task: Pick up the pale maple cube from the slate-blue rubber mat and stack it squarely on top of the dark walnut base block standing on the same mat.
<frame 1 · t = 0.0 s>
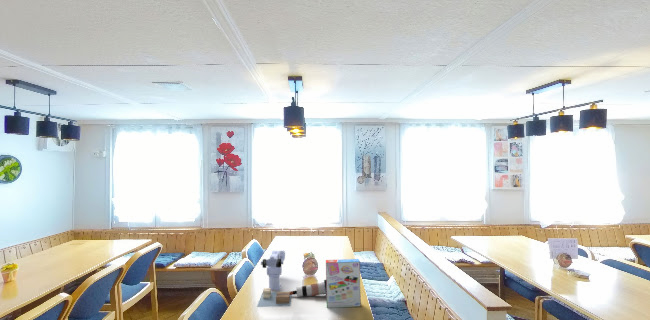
hand: (270, 265, 207), 22 cm above the table, tool horizontal, fingers open, 7 cm apart
walnut base: (283, 300, 204), point 1 cm above the table, touching mat
cable: (315, 296, 212), on the table, touching mat
maple cube: (267, 296, 211), point 1 cm above the table, touching mat
mat: (275, 299, 207), on the table
game box: (343, 305, 198), on the table
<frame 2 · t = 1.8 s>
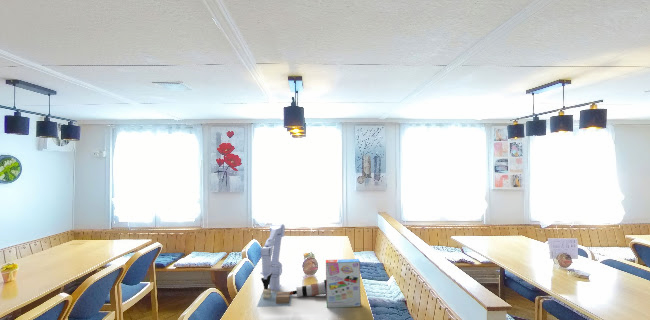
hand: (266, 286, 211), 7 cm above the table, tool pointing down, fingers open, 7 cm apart
nothing on the table moved.
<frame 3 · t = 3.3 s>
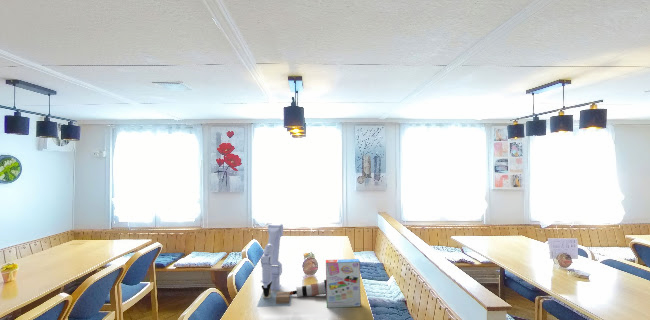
hand: (267, 295, 211), 2 cm above the table, tool pointing down, fingers closed on maple cube, 4 cm apart
maple cube: (267, 296, 211), point 1 cm above the table, touching gripper, mat
everything else where it was.
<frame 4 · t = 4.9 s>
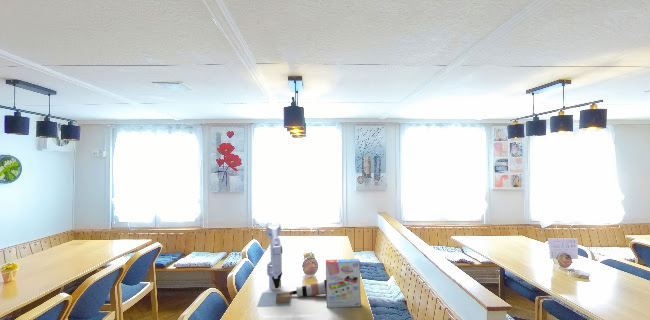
hand: (277, 286, 207), 9 cm above the table, tool pointing down, fingers closed on maple cube, 4 cm apart
maple cube: (277, 288, 207), point 8 cm above the table, touching gripper
everything else where it was.
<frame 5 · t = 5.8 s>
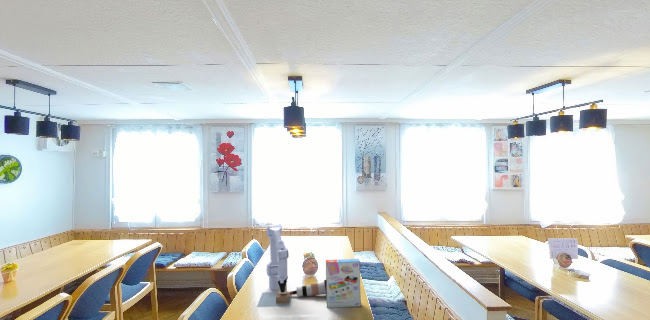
hand: (283, 290, 205), 7 cm above the table, tool pointing down, fingers closed on maple cube, 4 cm apart
maple cube: (282, 292, 205), point 6 cm above the table, touching gripper
everything else where it was.
when the fingers open (7 cm above the table, at t = 6.5 s): maple cube drops 1 cm, resting on walnut base.
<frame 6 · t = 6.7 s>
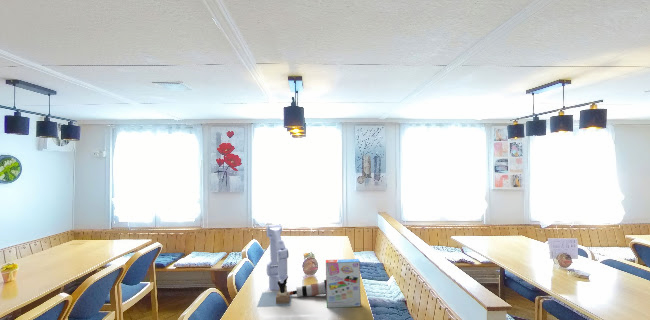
hand: (283, 290, 205), 7 cm above the table, tool pointing down, fingers open, 6 cm apart
walnut base: (283, 300, 204), point 1 cm above the table, touching maple cube, mat
maple cube: (282, 294, 205), point 5 cm above the table, touching walnut base
everything else where it was.
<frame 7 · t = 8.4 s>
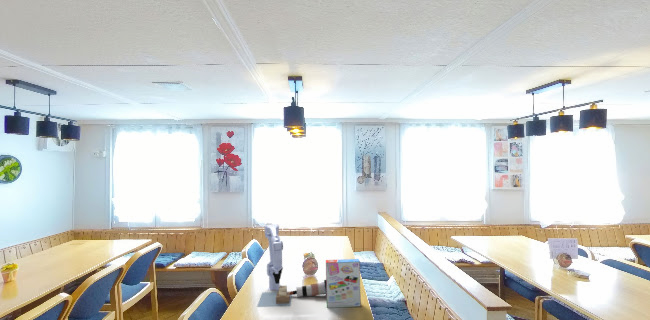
hand: (277, 281, 212), 10 cm above the table, tool pointing down, fingers open, 7 cm apart
nothing on the table moved.
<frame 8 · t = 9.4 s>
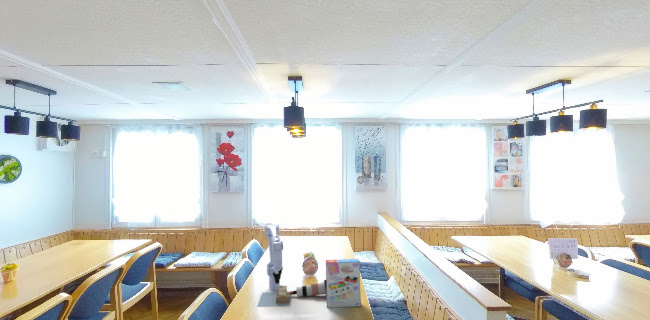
hand: (277, 281, 212), 10 cm above the table, tool pointing down, fingers open, 7 cm apart
nothing on the table moved.
at the end: maple cube 0.1 cm off-centre on the walnut base, point 4.0 cm above the walnut base's base; maple cube tilted 0°; maple cube touching walnut base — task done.
